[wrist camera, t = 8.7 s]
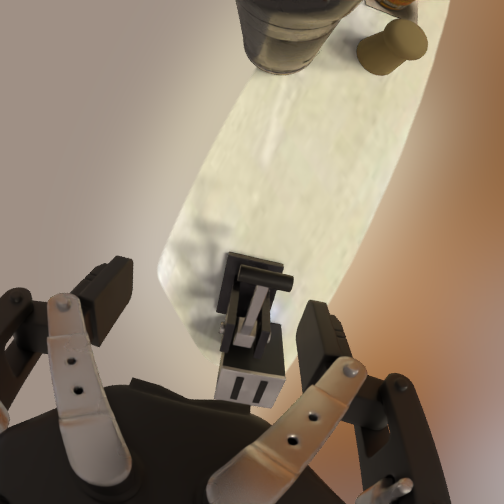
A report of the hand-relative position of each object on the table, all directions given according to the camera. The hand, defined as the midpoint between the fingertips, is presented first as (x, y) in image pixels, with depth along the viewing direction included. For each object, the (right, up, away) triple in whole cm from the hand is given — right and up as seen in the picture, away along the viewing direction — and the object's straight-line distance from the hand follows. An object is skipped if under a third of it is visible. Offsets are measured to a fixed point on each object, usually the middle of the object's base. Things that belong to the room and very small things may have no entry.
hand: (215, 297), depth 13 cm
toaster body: (+1, -12, +35) cm, 37 cm away
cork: (+19, +29, +17) cm, 38 cm away
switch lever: (+2, -3, +19) cm, 19 cm away
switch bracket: (+1, -3, +31) cm, 31 cm away
